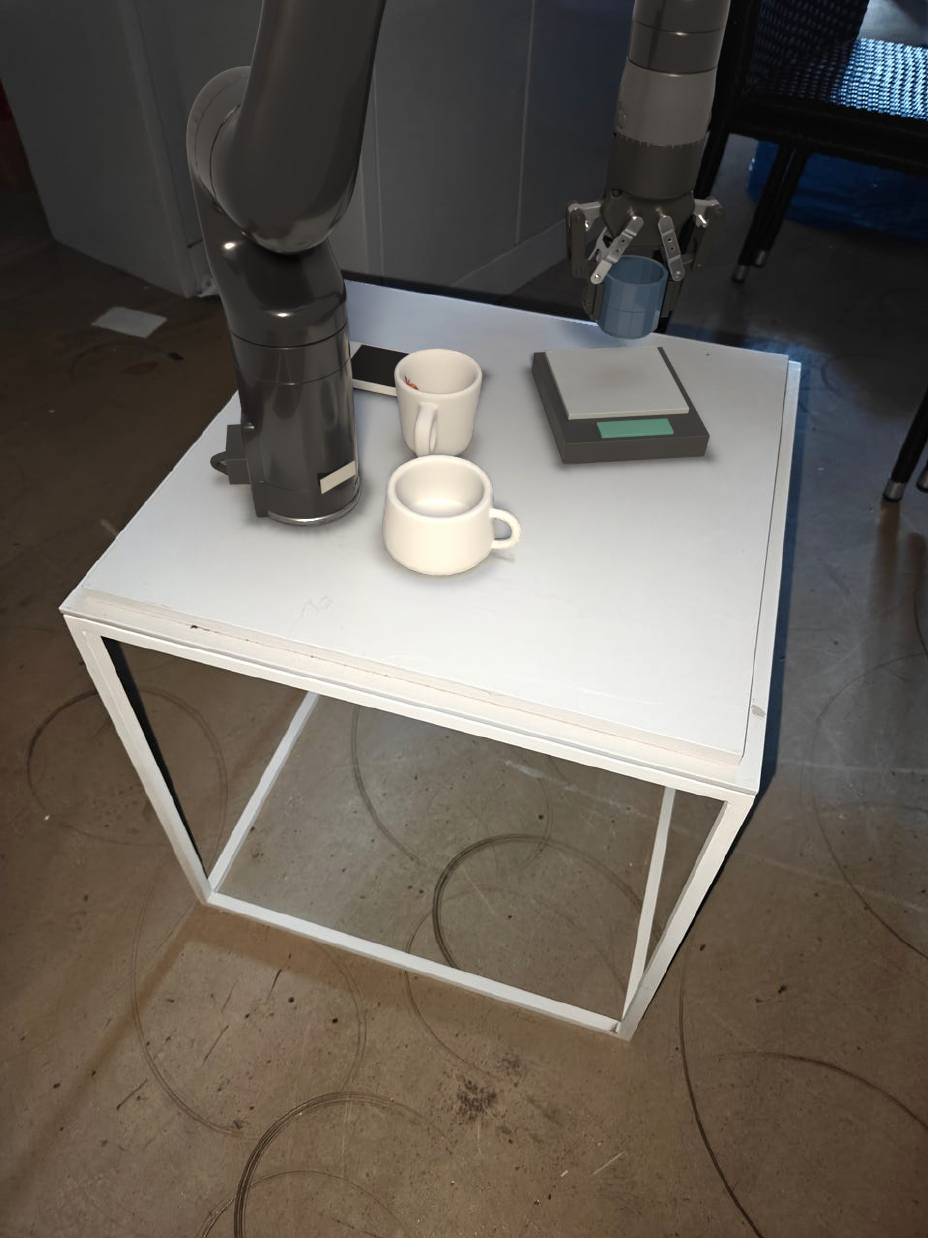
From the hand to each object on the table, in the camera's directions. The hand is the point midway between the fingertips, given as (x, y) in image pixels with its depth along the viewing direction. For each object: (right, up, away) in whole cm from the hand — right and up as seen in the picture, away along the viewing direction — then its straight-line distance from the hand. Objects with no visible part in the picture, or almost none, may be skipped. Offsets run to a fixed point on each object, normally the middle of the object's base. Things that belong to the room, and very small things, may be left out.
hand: (626, 314), depth 85 cm
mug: (-17, -23, -8) cm, 29 cm away
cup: (-18, -13, +1) cm, 23 cm away
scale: (0, -8, +6) cm, 10 cm away
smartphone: (-22, -4, +9) cm, 24 cm away
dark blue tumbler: (0, -1, +1) cm, 1 cm away
